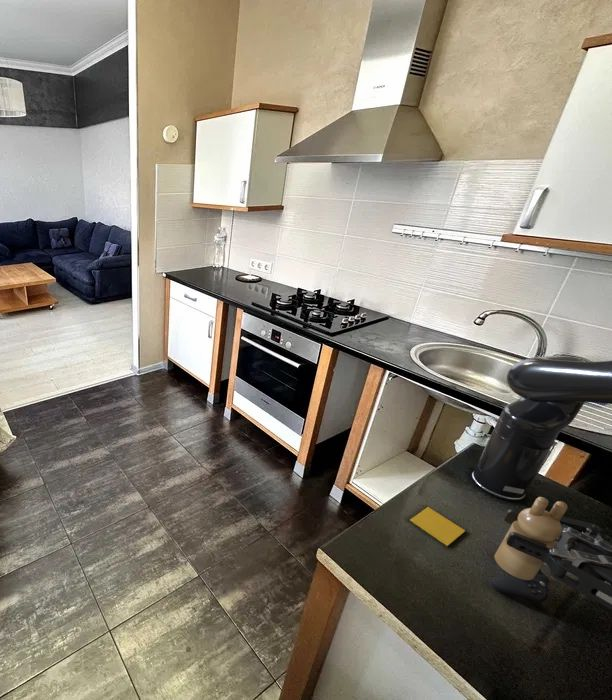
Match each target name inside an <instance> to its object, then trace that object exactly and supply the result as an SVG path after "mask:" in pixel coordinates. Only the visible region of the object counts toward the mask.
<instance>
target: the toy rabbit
mask: <svg viewBox="0 0 612 700" xmlns="http://www.w3.org/2000/svg"><path fill="white" fill-rule="evenodd" d="M548 506H549V500H548V499H547V498H546V497H543V496H538V497H537V498H535V501H534V502H533V504H532V505H531V507H528V508H524V509H522V510H521V511H519V512H520V513H519V515H518V521H514V522H513V523H512V524H510V527H509V529H508V530H507V532H506V533H505V536H504V538H503V539H502V541H501V543H500V544H499V547H498V548H497V550H496V552H495V553H494V560H495V562H496V564H497V565H498V566H499V567H500V568H501V569H502V570H503V571H505V573H508V574H509V575H510V574H511V575H513V576H515V577H517V578H520V579H523V580H532V579H534V577H535V576H536V574H537V573H538V571H539V570H540V569H541V568H542V566H543V565H544V564H543V563H542V561H541V560H540V559H537V558H535V557H532V556H530V555H528V554H525V553H523V552H520V551H518V550H516V549H514V548H513V547H510V546H509V545H507V541H506V539H507V537H508V535H509V534H510V532H516V533H519V534H521V535H524V536H526V537H529V538H531V539H534V540H536V541H539V542H541V543H544V544H546V545H547V548H548V549H549V548H555V547H556V542H555V540H556V539H557V538H559V537H561V536H562V535H561V533H562V524H560V522H559V521H560V519H561V518H562V517H564V515H565V513H566V511H568V504H567V503H566V502H564V501H561V500H559V501H556V502H554V504H553V505H552V508H551V509H550V511H548V510H546V509H547V507H548Z"/></svg>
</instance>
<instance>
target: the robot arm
mask: <svg viewBox="0 0 612 700" xmlns="http://www.w3.org/2000/svg"><path fill="white" fill-rule="evenodd" d="M506 383H507V384H508V387H509V388H510V389H511V390H512V392H514V394H516V395H518V396H519V398H518V399H516V400H514V401H512V402H511V403H508V404H507V405H505V406H504V407H503V409H502V411H501V413H500V415H499V417H498V419H497V421H496V423H495V426H494V428H493V430H492V432H491V434H490V437H489V439H488V440H487V442H486V443H485V445H484V448H483V450H482V452H481V455H480V457H479V459H478V461H477V464H476V465H475V467H474V469H473V470H474V471H473V472H472V473H471V476H470V478H471V480H472V482H473V483H474V484H475V485H476V486H477V487H478V488H479V489H480V490H482V491H483V492H485V493H486V494H489V495H491V496H493V497H495V498H498V499H500V500H504V501H508V502H509V501H510V502H520V501H522V500H524V498H525V497H526V495H527V492H528V490H529V489H530V487H531V485H532V483H533V482H534V479H535V477H536V476H537V474H538V472H539V470H540V469H541V468H542V465H543V463H544V461H545V460H546V458H547V456H548V454H549V453H550V451H551V449H552V447H553V444H554V443H555V442H556V440H557V438H558V436H559V435H560V433H561V431H563V430H564V429H565V428H567V427H568V426H569V425H571V423H572V422H573V421H574V420H575V419H576V417H577V415H578V414H579V412H580V411H581V409H583V408H582V407H583V406H584V405H585V403H594V404H595V403H597V404H608V405H612V360H602V361H601V360H600V361H584V360H582V359H580V358H578V357H575V356H570V355H545V356H533V357H528V358H525V359H523V360H520V361H518V362H516V363H515V364H513V366H512V367H510V369H509V370H508V372H507V374H506ZM520 512H521V511H518V510H515V509H512V508H509V509H507V510H506V511H505V514H504V516H503V520H504V522H505V523H507V524H509V525H512V523H513V522H514V521H518V515H519V513H520ZM559 522H560V524H561V526H562V533H561V535H560V537H559V538H557V539H556V540H555V542H556V545H555V547H556V548H555V547H554V548H549V549H548V548H547V545H546V544H544V543H541V542H539V541H536V540H534V539H531V538H529V537H526V536H524V535H521V534H519V533H516V532H510V534H509V535H508V537H507V539H506V541H507V545H509V546H510V547H513V548H514V549H516V550H518V551H520V552H523V553H525V554H528V555H530V556H532V557H535V558H537V559H540V560H541V561H542V563H543V565H545V566H546V567H548V568H549V569H550V571H549V575H550V576H551V577H553V578H554V579H556V580H557V581H559V582H561V583H563V584H564V585H566V586H568V587H570V588H571V589H574V590H575V591H577V592H579V593H581V594H582V595H584V596H585V597H587V598H589V599H591V600H593V601H594V602H597V603H598V604H600V605H602V606H603V607H605V608H607V609H609V610H611V611H612V543H611V542H609V541H607V540H604V539H603V538H602V537H601V535H600V533H601V531H602V528H601V527H600V526H599V525H597V524H594V523H590V522H586V521H583V520H579V519H574V518H570V517H566V516H562V518H561V519H560V521H559ZM570 539H573V541H572V543H571V544H570V545H569V544H568V542H569V541H570ZM570 576H572V577H575V578H579V579H580V580H576V579H574V578H572V577H570Z"/></svg>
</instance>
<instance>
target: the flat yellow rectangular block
mask: <svg viewBox="0 0 612 700" xmlns="http://www.w3.org/2000/svg"><path fill="white" fill-rule="evenodd" d="M409 521H410V522H411V523H412V524H414V525H416V526H417V527H418V528H420V529H421V530H422V531H425V532H426V533H427V534H429V535H430V536H432V537H433V538H435V539H436V540H437V541H439V542H440V543H441V544H443V545H445V546H446V547H448V546H450V545H451V544H453V542H455V541H456V540H457V539H458V538H459V537H461V536H462V535H463V534H464V533H465V532H466V529H464V528H463V527H461V526H459V525H457V523H455V522H452V521H451V520H449V519H448V518H446V517H445V516H443V515H441V514H440V513H439V512H437V511H435V510H434V509H432V508H431V507H429V506H427V507H426V508H425V509H423V510H421V511H420V512H419V513H418V514H416V515H414V516H413V517H412V518H410V520H409Z"/></svg>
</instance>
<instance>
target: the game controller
mask: <svg viewBox="0 0 612 700" xmlns="http://www.w3.org/2000/svg"><path fill="white" fill-rule="evenodd" d="M549 582H550V580H549V578H548V576H547V575H546V574H545V572H543V571H542V569H541V568H540V570H539V571H538V573H537V574H536V576H535V577H534V579H532V580H523V579H520V578H517V577H515V576H513V575H511V574H509V575H506V576H502V577H499V578H495V579H492V580H491V581H490V584H491V587H492V589H494V590H495V591H497V592H499V593H501V594H504V595H506V596H508V597H509V596H510V597H513V598H517V599H521V600H525V601H527V602H529V604H531V605H532V606H533V605H534V606H537V607H539V608H541V607H542V604H543V603H544V602H546V601H547V600H548V599H549V594H548V583H549Z"/></svg>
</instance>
